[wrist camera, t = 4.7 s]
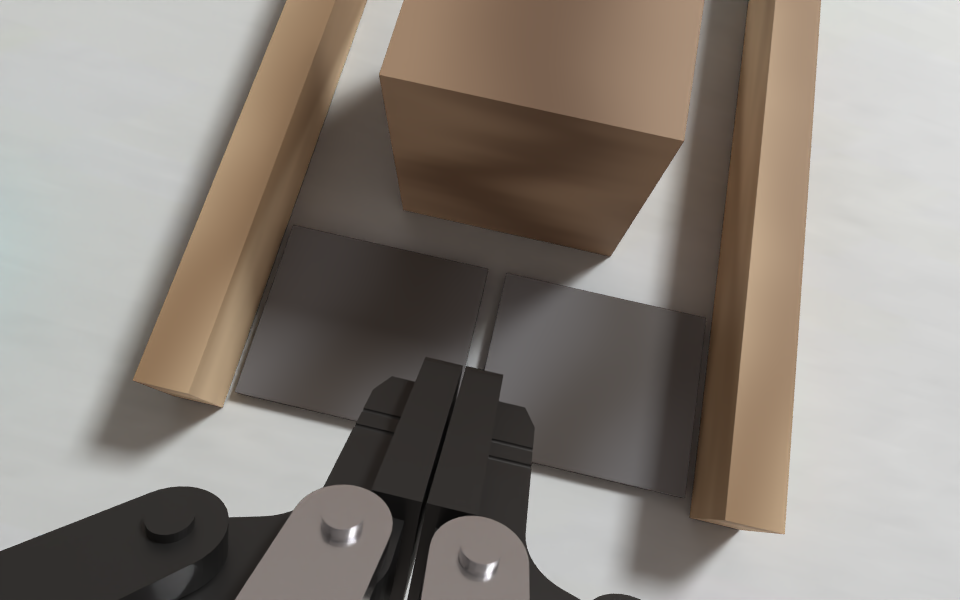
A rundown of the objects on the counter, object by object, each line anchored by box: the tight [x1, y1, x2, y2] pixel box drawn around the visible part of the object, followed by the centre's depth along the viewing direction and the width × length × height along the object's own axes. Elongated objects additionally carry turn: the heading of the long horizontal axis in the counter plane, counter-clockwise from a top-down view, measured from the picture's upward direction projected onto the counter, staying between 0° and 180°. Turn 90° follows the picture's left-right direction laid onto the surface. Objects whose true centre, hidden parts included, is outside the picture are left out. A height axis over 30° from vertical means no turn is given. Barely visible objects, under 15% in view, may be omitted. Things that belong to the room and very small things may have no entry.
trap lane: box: [133, 0, 821, 534], centre depth 22 cm, size 17×30×2 cm, turn 167°
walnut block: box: [379, 0, 704, 256], centre depth 18 cm, size 7×7×7 cm
